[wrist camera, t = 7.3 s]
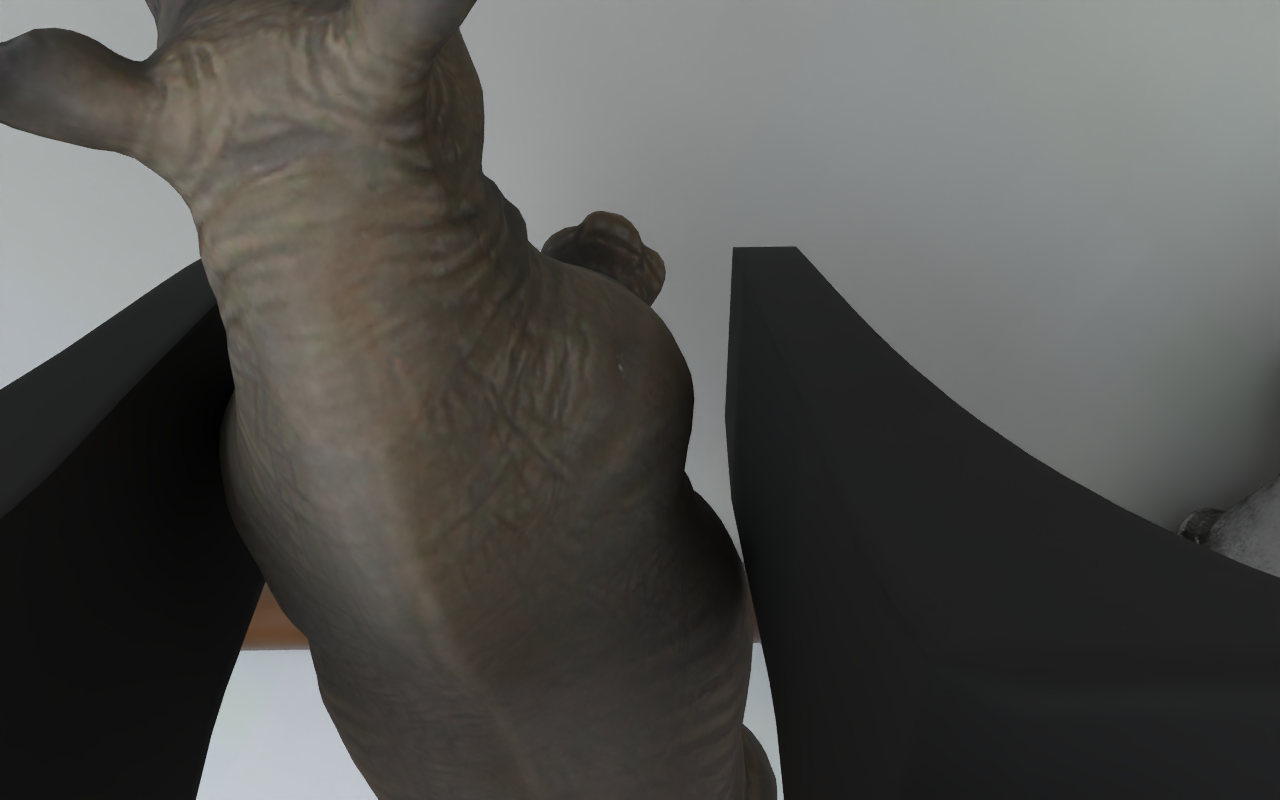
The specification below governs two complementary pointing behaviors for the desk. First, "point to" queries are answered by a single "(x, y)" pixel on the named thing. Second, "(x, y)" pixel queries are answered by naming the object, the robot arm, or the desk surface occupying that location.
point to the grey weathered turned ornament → (1242, 529)
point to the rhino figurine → (433, 407)
